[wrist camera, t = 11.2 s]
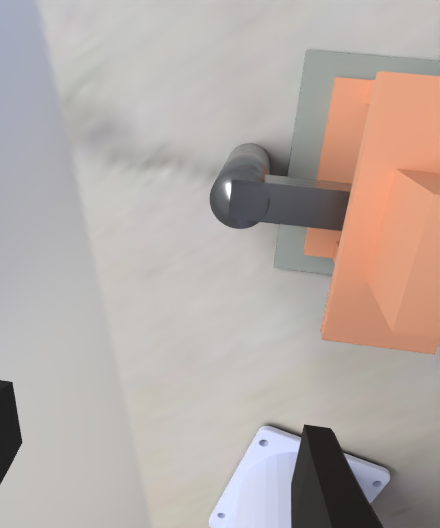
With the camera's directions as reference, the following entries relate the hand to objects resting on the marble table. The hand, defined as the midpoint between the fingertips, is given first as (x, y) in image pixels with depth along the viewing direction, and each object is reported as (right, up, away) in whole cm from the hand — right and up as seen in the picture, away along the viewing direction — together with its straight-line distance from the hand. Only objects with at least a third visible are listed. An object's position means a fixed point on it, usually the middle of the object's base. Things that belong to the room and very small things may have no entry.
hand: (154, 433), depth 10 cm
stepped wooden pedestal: (+7, +8, +7) cm, 13 cm away
